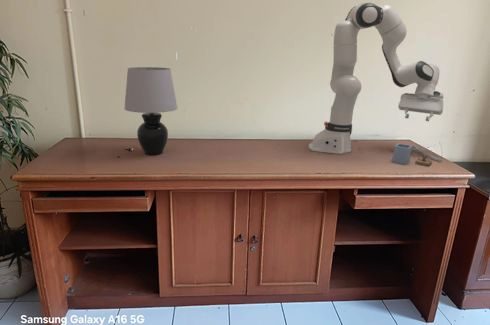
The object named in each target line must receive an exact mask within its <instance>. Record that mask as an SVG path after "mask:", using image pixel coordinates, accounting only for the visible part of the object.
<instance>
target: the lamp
mask: <svg viewBox="0 0 490 325" xmlns="http://www.w3.org/2000/svg"><path fill="white" fill-rule="evenodd" d="M171 70H172V69H171V68H170V67H160V66H159V67H156V66H155V67H152V66H150V67H149V66H142V67H141V66H139V67H138V66H136V67H135V66H133V67H127V72H126V73H127V75H126V87H125V98H124V99H125V100H124V110H125V111H127V112H130V113H131V112H132V113H139V114H140V113H141V118H142V120H143V123H141V124H140V125H139V126H138V128H137V140H138V143H139V145H140V147H141V150H143V153H144V155H146V156H150V157H151V156H153V157H155V156H160V155H162V154H163V153H164V149H165V148H166V145H167V142H168V139H169V138H168V137H169V131H168V128H167V127H166V125H165V124H164V123H162V122H161V119H162V117H163V115H162V113H167V112H168V113H169V112H173V111H177V110H178V104H177V99H176V98H177V97H176V93H175V88H174V86H175V85H174V82H173V76H172V71H171Z"/></svg>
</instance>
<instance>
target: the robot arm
mask: <svg viewBox="0 0 490 325" xmlns="http://www.w3.org/2000/svg"><path fill="white" fill-rule="evenodd" d="M373 27H374V28H375V29H376V30H377V32H378V33H379V35H380V37H381V39H382V40H381V41H382V45H381V50H382V53H383V57H384V59H385V62H386V63H387V67H388V68H389V71H390V73H391V78H392V82H393V84H394V85H395V86H397V87H399V88H405V87H406V86H407V87H408V86H409V85H413V84H416V85H417V86H416V88H415V91H414V93H409V92H405V93H402V94H401V95H400V100H399V102H398V106H397V107H398V109H399V111H404V114H405V116H404V118H405V119H409V117H410V114H409V113H408V112H413V113H420V114H421V113H422V114H429V115H428V116H426V118H425V121H426V122H429V121H430V120H431V118H432V117H434V115H437V116H441V115H442V114H443V111H444V93H443V92H441V91H438V90H436V87H437V85H438V84H439V78H440V67H439V66H437V65H436V64H434V63H427V62H425V61H423V60H420V61H416V62H413V63H411V64H408V65H404V66H403V65H401V62H400V59H399V57H398V54H397V48H398V47H399V46H400V45H401V44H402V43H403V41H404V40H405V38H406V37H407V27H406V24H405V23H404V21H403V19H402V18H401V16H400V14H398V12H397V11H396V10H395V8H394V7H393V6H392V5H390V4H385V5H381V6H378V5H376V4H375V3H373V2H366V3H359V4H358V5H355V6H353V7H352V8H351V9H350V10H349V12H348V14H347V16H346V18H345V20H342V21H340V22H339V23H337V24H336V25H335V29H334V36H333V63H332V69H331V70H332V71H331V77H330V78H331V79H330V80H329V81H330V82H329V86H330V89H331V90H332V92H333V93H334V94H335V96H334V100H333V103H332V106H331V108H330V116H329V117H330V118H329V121H324V123H323V124H324V126H325V127H324V129H323V130H321V131H320V132H318V133H316V135H315V136H314V137H313V139H312V142H310V143H308V146H307V148H308V149H309V150H310V151H312V152H319V153H320V152H321V153H329V154H336V155H337V154H338V155H342V154H345V153H346V154H347V153H350V152H352V144H351V142H352V141H351V135H352V134H353V133H352V132H353V124H352V122H353V115H354V109H355V106H356V102H357V100H358V95H359V94H360V92H361V90H362V83H361V81H360V80H359V79H358V77H357V76H356V75H354V71H355V66H356V63H357V59H358V34H359V32H360V30H364V29H368V28H373Z"/></svg>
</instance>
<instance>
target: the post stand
mask: <svg viewBox="0 0 490 325" xmlns="http://www.w3.org/2000/svg"><path fill="white" fill-rule="evenodd" d="M423 151H424V150H423ZM427 153H428V151H424V155H422V158H420V157H418V158H417V159H415V163H414V164H415V165H419V166H421V167H428V168H429V167H430V166H431V165H432V162H433V160H432V159H427V157H426V155H427Z"/></svg>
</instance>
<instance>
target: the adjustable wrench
mask: <svg viewBox="0 0 490 325" xmlns="http://www.w3.org/2000/svg"><path fill="white" fill-rule="evenodd" d="M411 146H412V151H411V152H413V153H418V154H420V155H422V156H423V155H424V150H422V149H421V148H420V147H418V146H415V145H411ZM426 158H428V159H429V160H431V161H434V162H436V163H442V162H443V159H441V158H439V157H436V156H434V155H432V154H430V153H428V152H427V155H426Z"/></svg>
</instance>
